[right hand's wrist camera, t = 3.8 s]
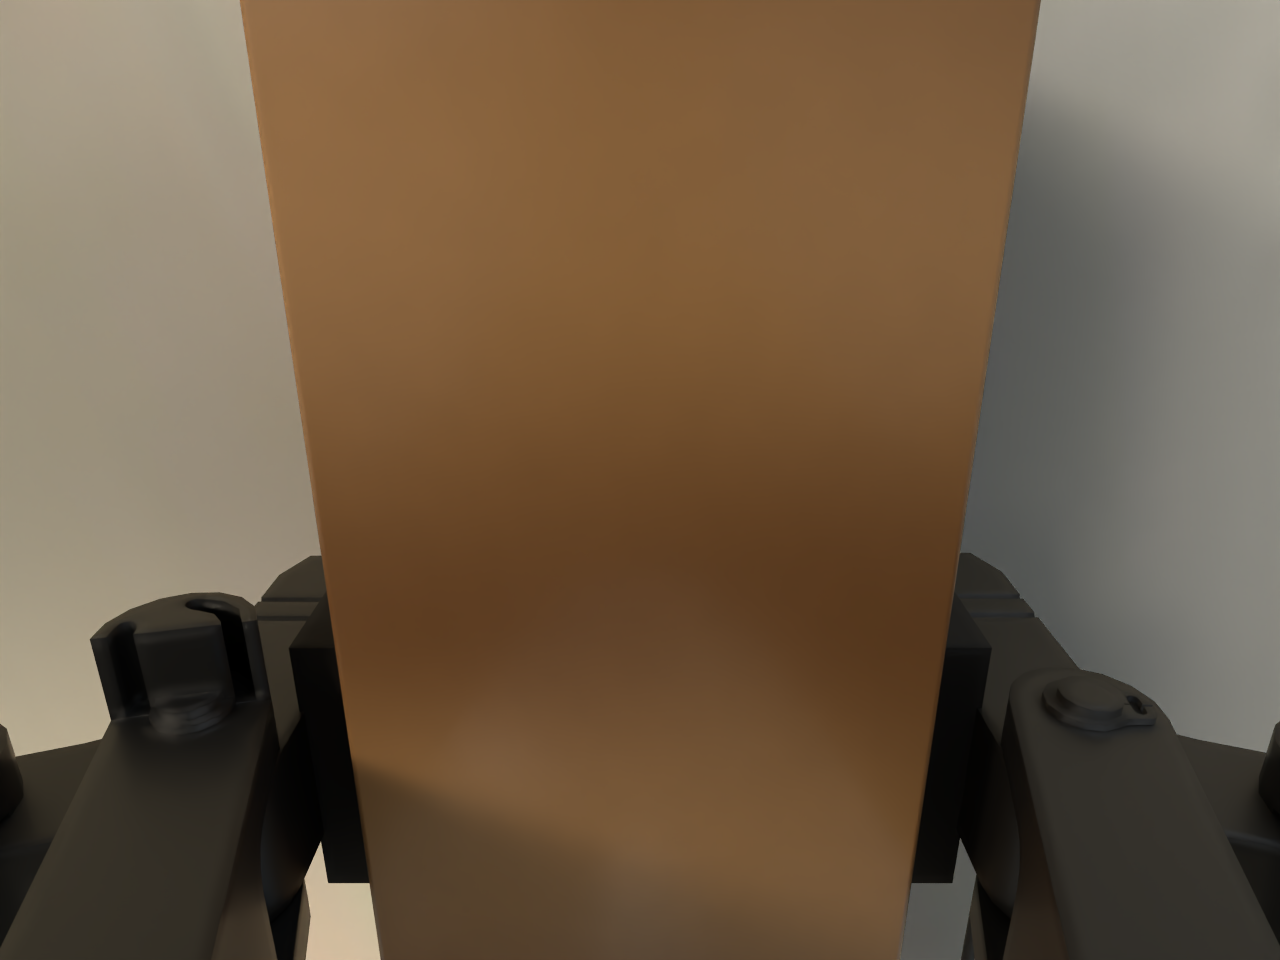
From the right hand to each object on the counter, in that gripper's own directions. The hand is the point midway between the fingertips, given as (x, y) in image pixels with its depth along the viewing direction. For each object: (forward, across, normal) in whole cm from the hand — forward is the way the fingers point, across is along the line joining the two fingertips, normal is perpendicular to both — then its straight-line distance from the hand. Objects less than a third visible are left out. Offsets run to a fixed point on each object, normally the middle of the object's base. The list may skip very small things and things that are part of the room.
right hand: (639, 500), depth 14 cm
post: (+1, 0, -20) cm, 20 cm away
